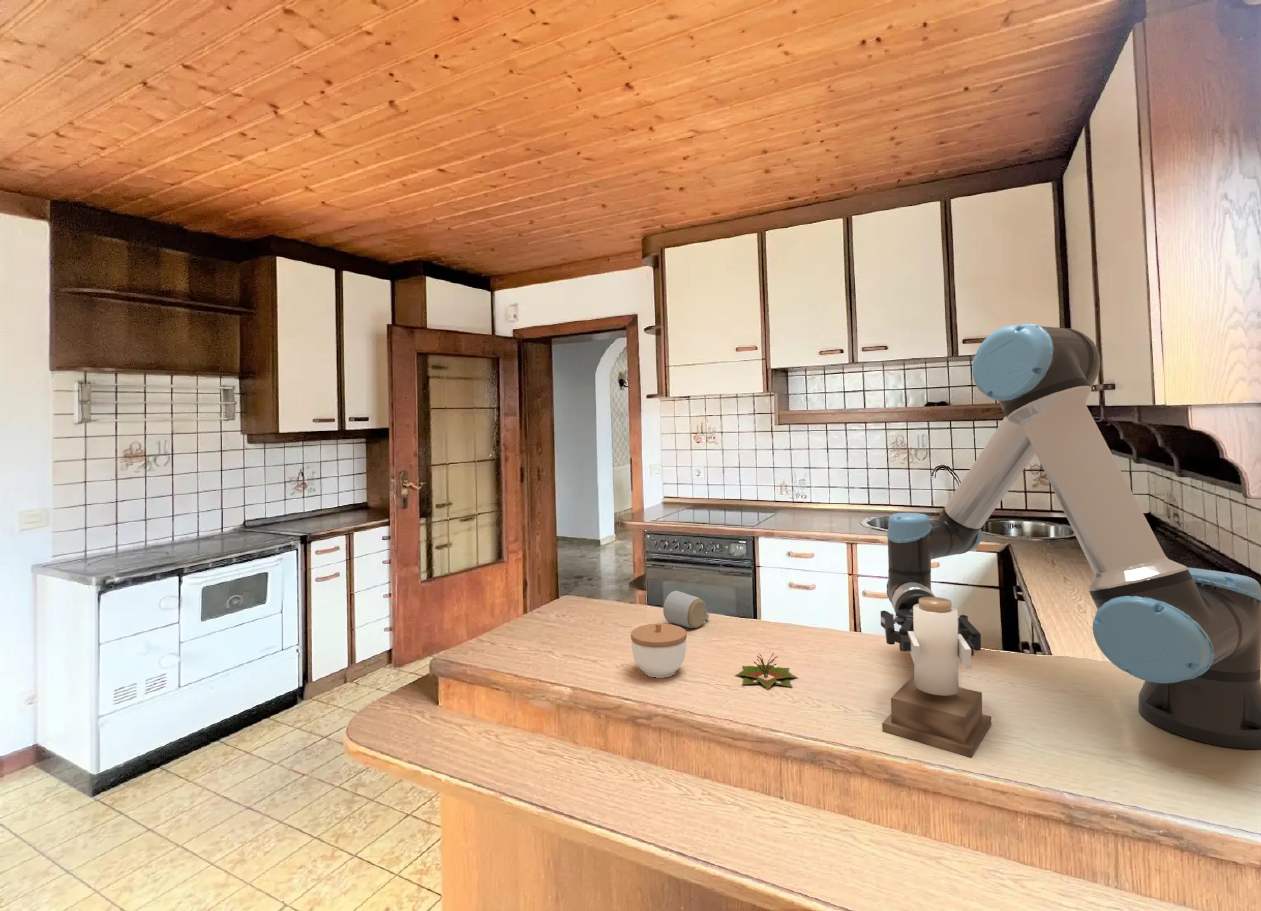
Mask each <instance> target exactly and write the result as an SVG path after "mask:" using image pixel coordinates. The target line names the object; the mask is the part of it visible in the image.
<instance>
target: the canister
mask: <svg viewBox="0 0 1261 911" xmlns="http://www.w3.org/2000/svg"><path fill="white" fill-rule="evenodd" d="M958 612H959V610H958V609H957V608H956V607H953V605H952V601H951V600H950V599H949V598H944V597H938V596H935V597H922V598H919V604H916V605H914V606H913V627H914V635H915V637H916V639H917V641H918V644H919V646H920V665H918V664H914V663H913V676H914V685H915V687H916V688H917V689H919V690H921V691H923V692H926V693H929V694H934V695H943V696H947V695H954V694H956V693H958V692H959V687H960V684H959V682H960V681H959V678H960V676H959V673H960V672H959V656H958V617H959V614H958Z"/></svg>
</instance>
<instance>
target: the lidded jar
mask: <svg viewBox="0 0 1261 911" xmlns="http://www.w3.org/2000/svg"><path fill="white" fill-rule="evenodd" d="M687 634H688V632H687V631H686V629H684V627H683V626H682V627H681V626H680V625H677V624H672V623H660V622H658V623H657V622H656V623H651V624H644V625H641V626H638V627H635V628H634V629H633V630H632V631H631V632H630V640H631V649H632V650H631V651H632V655H633V659H634V661H635V664H636V665H637V667H638V668H640V670H641V671H642V672H643V673H645V674H646V675H645V674H644V675H645V676H647V675H648V676H647V677H649V676H650V677H649V678H652V677H656V678H655V679H665V677H666V678H670V677H672V675H673V676H674V675H675V674H676V672H677V671H678V670H679V668H681V667H682V665H683V663H684V661H685V658H686V657H685V656H686V653H687V652H686V651H687V637H688V635H687Z"/></svg>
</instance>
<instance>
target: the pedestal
mask: <svg viewBox="0 0 1261 911" xmlns="http://www.w3.org/2000/svg"><path fill="white" fill-rule="evenodd" d="M890 709H891V710H890V712H891V713H890V714H889V715H888V716H887V717H886V719H884V721H883V722H882V723H881V725H882V727H881V728H882V730H881V731H883V732H885V733H889V734H890V735H891V734H892V735H895V736H899V737H902V738H906V739H908V740H912V741H915V742H918V743H921V744H925V745H929V746H932V747H935V748H938V749H941V750H945V751H949V752H952V753H955V754H959V755H963V756H966V757H968V758H972V757H973V755H974V754H975V751H976V750H977V749H978V746H979V745H980V743H981V742H982V740H983V738H984V737H985V735H986V734H987V732H988V730H989V728H990V727H991V726H992V716H991V715H986V714H984V713H983V692H981V691H977V690H972V689H970V688H969V689H968V688H966V687H965V688H964V687H960V686H959V692H958V693H956V694H954V695H947V696H943V695H934V694H929V693H926V692H923V691H921V690H919V689H917V688H916V687H915V685H914V675H913V676H911V677H910V678H909V679H908V680H907V681H906V682H905V683H904V684H903V685H902V686H901V687H900V689H898V690H897V691H896V692H895V693H894V694H893V695H892V696H891V697H890Z"/></svg>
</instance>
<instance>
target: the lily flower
mask: <svg viewBox="0 0 1261 911" xmlns="http://www.w3.org/2000/svg"><path fill="white" fill-rule="evenodd" d="M774 655H775V653H772V654H771V656H770V658H769V659H768V661H767V664H765V662H764V659H763V657H762V654H760V653H759V655H756V657H757V658H756V660H757V661H753V663H754V664H755V665H756V666H755V665H746V666H745V665H742V669H743V670H742V671H740V672H738V673H736V674H735V676H745V677H744V678H743V680H742V683H741V685H743V686H744V685H751V684H757V685H758V684H761V685H763V687H765V689H767V690H769V689H770V688H771V687H772V686H773V685H776V686H777V685H778V686H783V687H790V688H793V684H791V681H790V680H789V679H787V678H794V679H795V678H796V679H799V677H798V676H796V675H795V674H792V673H791V672H789V670H790V668H789V667H782V666H781V667H779V666H778V667H775V666H777V665H778V664H777V663H774V661H775V660H776V659H777V658H779V656H775V657H774V658H772V657H773V656H774ZM771 658H772V659H771ZM757 662H758V663H759V664H758V663H757ZM772 664H773V665H772ZM761 676H763V677H764V678H768V676H771V678H770V679H764V678H761ZM755 679H756V680H757V681H755ZM777 681H779V682H777Z"/></svg>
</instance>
